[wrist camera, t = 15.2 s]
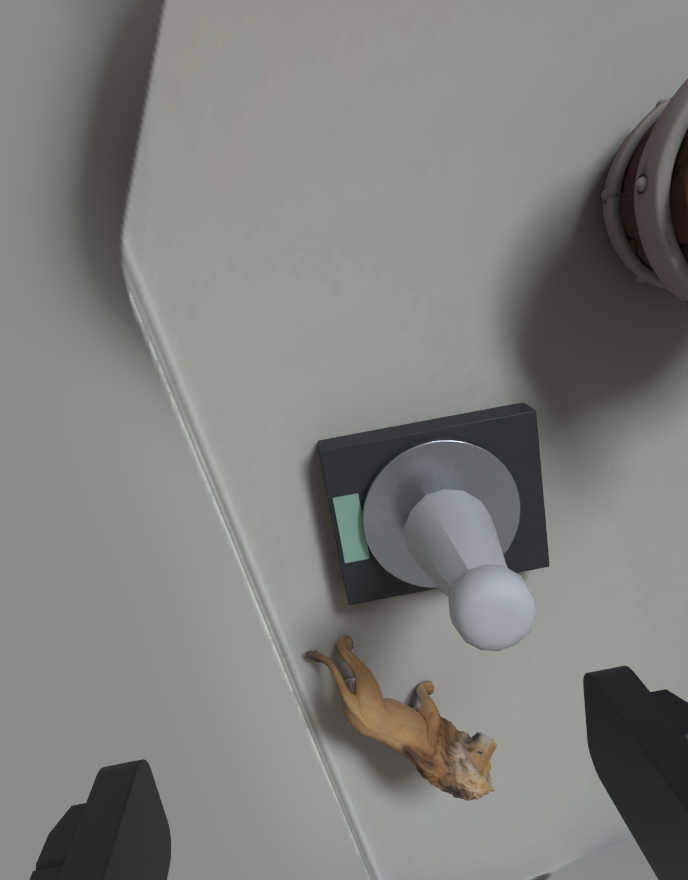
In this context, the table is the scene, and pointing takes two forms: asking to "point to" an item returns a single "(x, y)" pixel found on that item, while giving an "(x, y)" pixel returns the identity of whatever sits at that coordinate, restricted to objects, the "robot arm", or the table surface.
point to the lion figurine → (414, 730)
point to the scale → (364, 453)
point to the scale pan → (428, 473)
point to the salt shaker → (470, 569)
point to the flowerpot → (653, 197)
